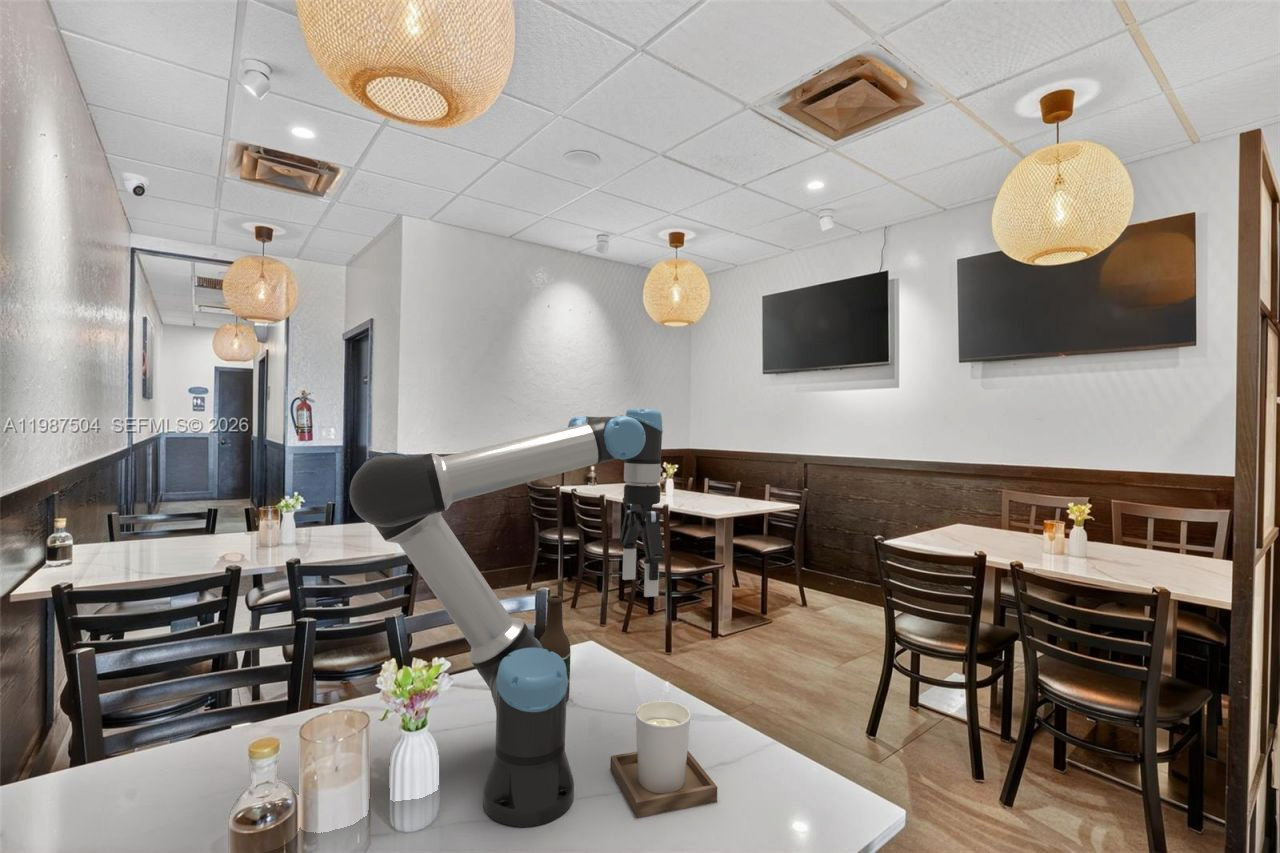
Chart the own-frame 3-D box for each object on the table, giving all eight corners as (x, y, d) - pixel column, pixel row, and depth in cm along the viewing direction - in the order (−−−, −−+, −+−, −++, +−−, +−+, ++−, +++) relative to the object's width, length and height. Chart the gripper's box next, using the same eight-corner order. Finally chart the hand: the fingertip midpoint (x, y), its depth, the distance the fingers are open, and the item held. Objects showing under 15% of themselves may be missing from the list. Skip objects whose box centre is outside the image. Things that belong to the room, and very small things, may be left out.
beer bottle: (551, 690, 144) (554, 590, 144) (576, 699, 139) (579, 596, 139) (528, 701, 137) (531, 597, 138) (552, 711, 133) (555, 603, 133)
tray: (636, 818, 97) (636, 802, 97) (610, 769, 111) (610, 755, 111) (717, 801, 102) (717, 786, 102) (682, 757, 116) (682, 744, 116)
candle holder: (689, 767, 111) (691, 702, 111) (688, 799, 101) (690, 728, 101) (636, 762, 112) (638, 698, 112) (630, 794, 102) (632, 723, 102)
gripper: (683, 489, 113) (680, 602, 113) (639, 478, 136) (636, 572, 136) (646, 490, 110) (643, 605, 110) (607, 478, 134) (604, 573, 134)
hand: (639, 587), depth 123 cm, fingers open, 13 cm apart
